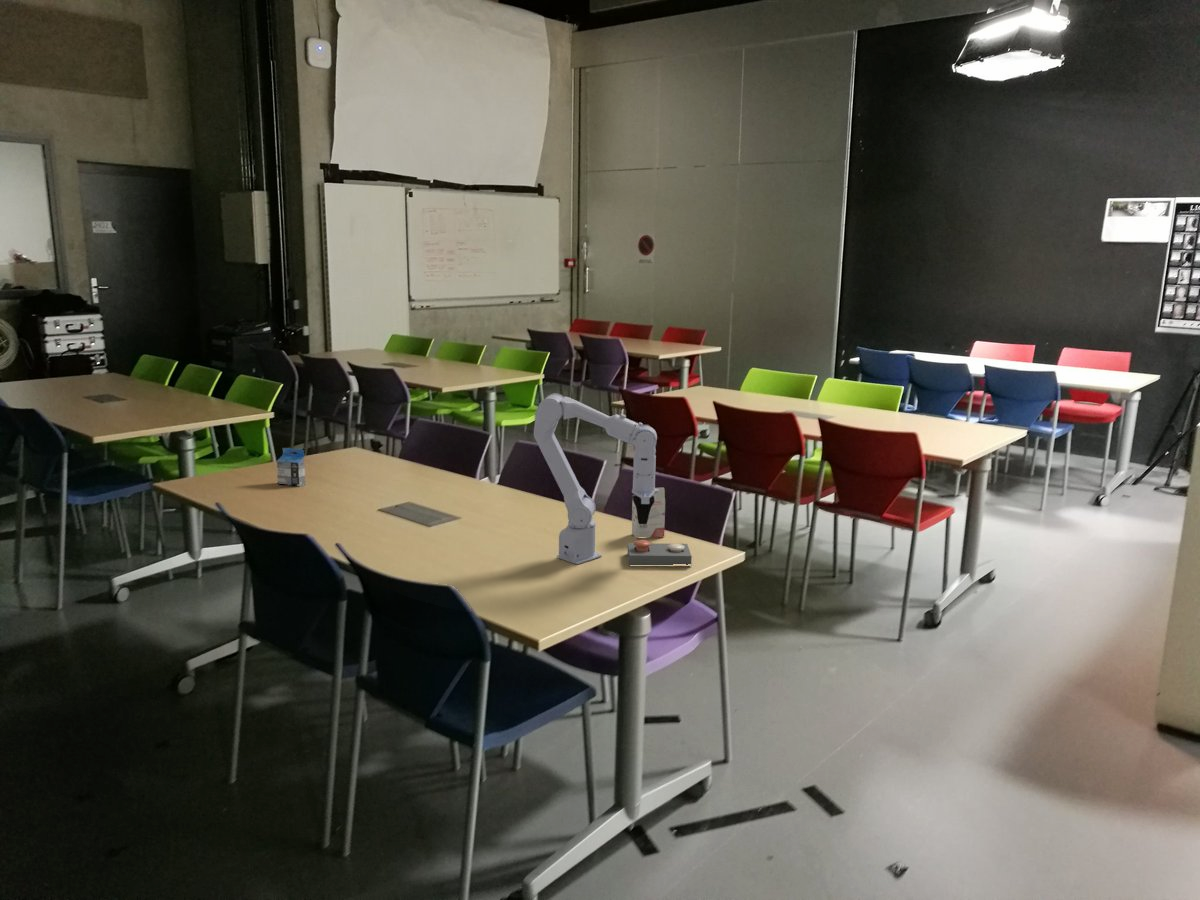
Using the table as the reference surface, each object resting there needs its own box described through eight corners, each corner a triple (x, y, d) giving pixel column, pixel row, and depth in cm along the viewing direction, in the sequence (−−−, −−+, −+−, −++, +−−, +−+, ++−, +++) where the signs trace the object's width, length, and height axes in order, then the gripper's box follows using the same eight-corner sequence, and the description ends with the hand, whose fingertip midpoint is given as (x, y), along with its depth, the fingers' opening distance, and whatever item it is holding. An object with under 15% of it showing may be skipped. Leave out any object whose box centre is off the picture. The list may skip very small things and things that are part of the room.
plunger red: (642, 560, 229) (643, 546, 228) (630, 556, 232) (630, 542, 231) (653, 556, 232) (654, 542, 231) (641, 552, 235) (641, 539, 234)
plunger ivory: (676, 564, 229) (677, 550, 228) (663, 560, 232) (664, 546, 231) (687, 560, 232) (687, 546, 231) (674, 556, 235) (675, 542, 234)
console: (629, 566, 227) (629, 555, 226) (627, 553, 237) (627, 543, 236) (691, 567, 227) (691, 556, 227) (686, 554, 237) (687, 543, 236)
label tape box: (277, 484, 301) (274, 449, 298) (284, 482, 304) (282, 447, 302) (299, 487, 298) (297, 451, 296) (306, 484, 302) (304, 449, 299)
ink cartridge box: (658, 532, 256) (660, 483, 253) (664, 537, 251) (666, 487, 248) (630, 534, 254) (632, 484, 251) (636, 539, 249) (637, 489, 246)
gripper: (662, 480, 220) (660, 532, 223) (657, 466, 234) (655, 515, 237) (634, 479, 220) (632, 531, 223) (631, 466, 234) (629, 515, 237)
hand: (642, 523), depth 230 cm, fingers closed
